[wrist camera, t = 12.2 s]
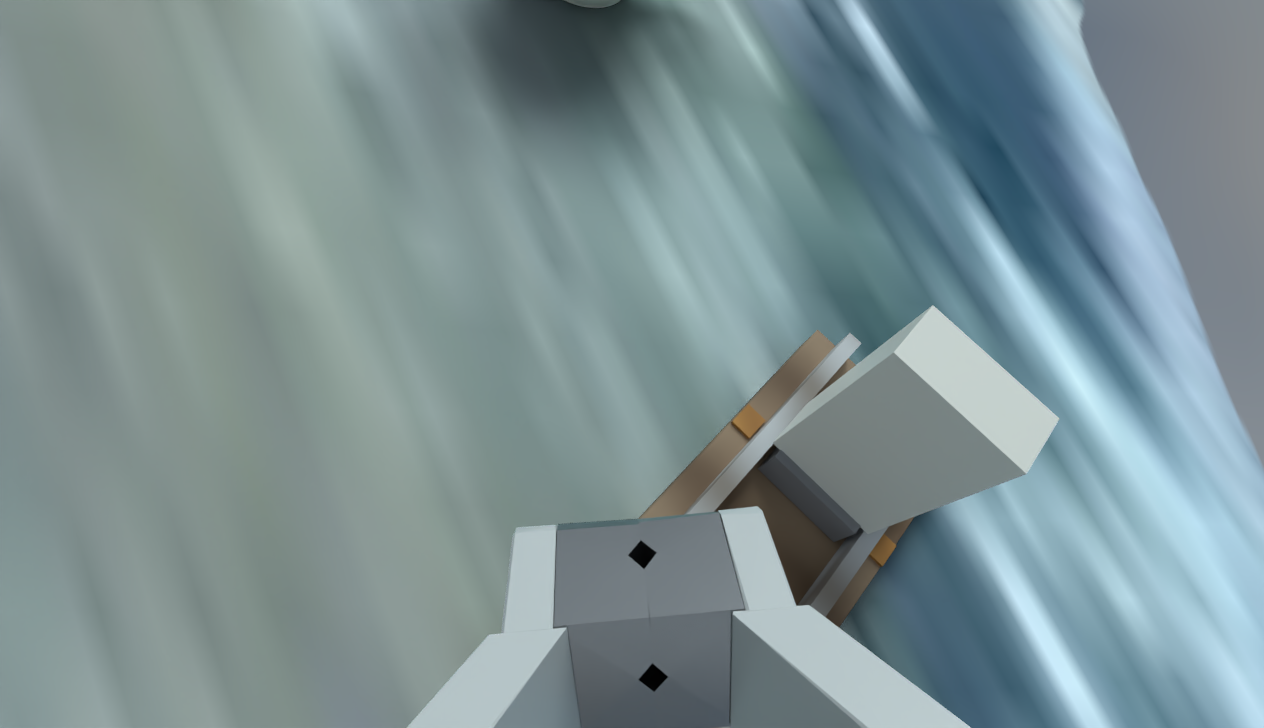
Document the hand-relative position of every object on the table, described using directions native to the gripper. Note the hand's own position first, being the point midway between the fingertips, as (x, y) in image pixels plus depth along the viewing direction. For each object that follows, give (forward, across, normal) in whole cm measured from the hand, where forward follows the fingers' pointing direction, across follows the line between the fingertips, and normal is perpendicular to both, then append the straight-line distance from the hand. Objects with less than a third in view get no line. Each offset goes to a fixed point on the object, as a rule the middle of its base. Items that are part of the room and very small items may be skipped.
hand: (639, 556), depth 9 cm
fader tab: (+22, -10, +16) cm, 29 cm away
